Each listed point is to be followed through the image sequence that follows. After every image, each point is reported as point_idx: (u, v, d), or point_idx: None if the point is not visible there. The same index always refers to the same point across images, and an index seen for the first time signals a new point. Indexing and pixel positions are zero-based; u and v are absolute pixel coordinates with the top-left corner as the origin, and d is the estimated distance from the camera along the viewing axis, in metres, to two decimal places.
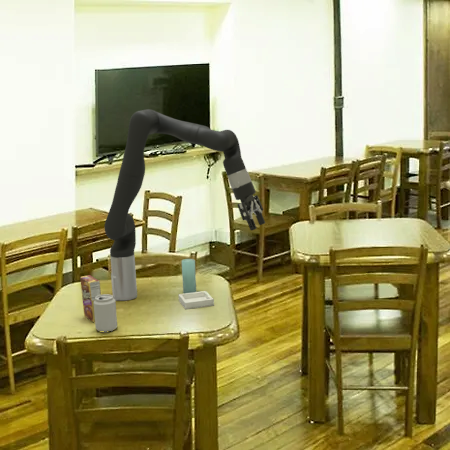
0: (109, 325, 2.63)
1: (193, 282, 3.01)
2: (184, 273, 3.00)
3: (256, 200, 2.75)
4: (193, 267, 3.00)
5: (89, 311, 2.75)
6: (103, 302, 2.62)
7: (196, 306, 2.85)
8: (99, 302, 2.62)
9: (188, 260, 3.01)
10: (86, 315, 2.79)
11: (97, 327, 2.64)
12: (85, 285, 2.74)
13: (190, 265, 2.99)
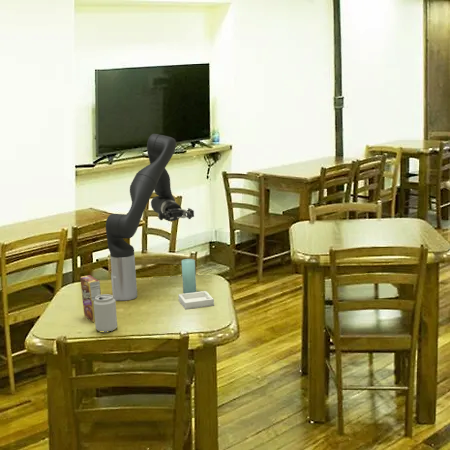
0: (109, 325, 2.63)
1: (193, 282, 3.01)
2: (184, 273, 3.00)
3: None
4: (193, 267, 3.00)
5: (89, 311, 2.75)
6: (103, 302, 2.62)
7: (196, 306, 2.85)
8: (99, 302, 2.62)
9: (188, 260, 3.01)
10: (86, 315, 2.79)
11: (97, 327, 2.64)
12: (85, 285, 2.74)
13: (190, 265, 2.99)
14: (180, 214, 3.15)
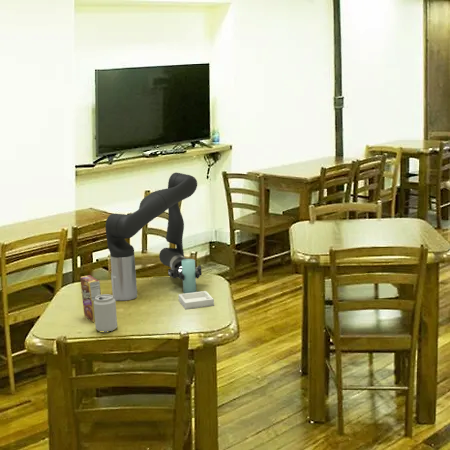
0: (109, 325, 2.63)
1: (193, 282, 3.01)
2: (184, 273, 3.00)
3: None
4: (193, 267, 3.00)
5: (89, 311, 2.75)
6: (103, 302, 2.62)
7: (196, 306, 2.85)
8: (99, 302, 2.62)
9: (188, 260, 3.01)
10: (86, 315, 2.79)
11: (97, 327, 2.64)
12: (85, 285, 2.74)
13: (190, 265, 2.99)
14: None
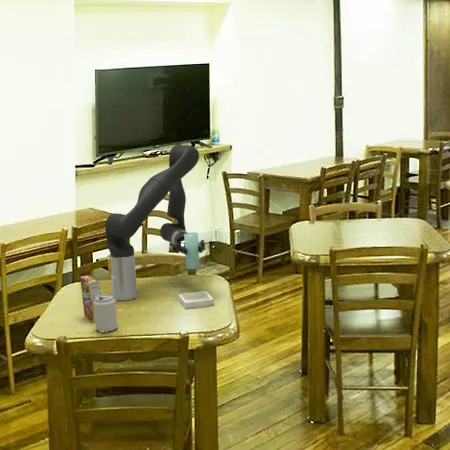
0: (109, 325, 2.63)
1: (196, 256, 2.89)
2: (187, 247, 2.88)
3: None
4: (196, 241, 2.88)
5: (89, 311, 2.75)
6: (103, 302, 2.62)
7: (196, 306, 2.85)
8: (99, 302, 2.62)
9: (191, 234, 2.89)
10: (86, 315, 2.79)
11: (97, 327, 2.64)
12: (85, 285, 2.74)
13: (193, 238, 2.87)
14: None
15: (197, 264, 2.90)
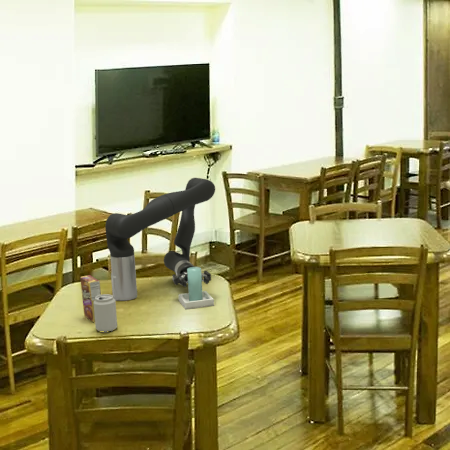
0: (109, 325, 2.63)
1: (199, 291, 2.88)
2: (190, 282, 2.87)
3: None
4: (199, 276, 2.87)
5: (89, 311, 2.75)
6: (103, 302, 2.62)
7: (196, 306, 2.85)
8: (99, 302, 2.62)
9: (194, 268, 2.88)
10: (86, 315, 2.79)
11: (97, 327, 2.64)
12: (85, 285, 2.74)
13: (197, 273, 2.86)
14: None
15: (200, 299, 2.89)
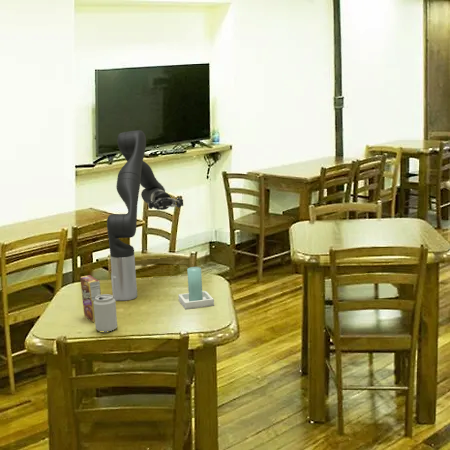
0: (109, 324, 2.63)
1: (199, 291, 2.88)
2: (190, 282, 2.87)
3: None
4: (199, 276, 2.87)
5: (89, 311, 2.75)
6: (103, 302, 2.62)
7: (196, 306, 2.85)
8: (99, 302, 2.62)
9: (194, 268, 2.88)
10: (86, 315, 2.79)
11: (97, 327, 2.64)
12: (85, 285, 2.74)
13: (197, 273, 2.86)
14: (169, 203, 3.18)
15: (200, 299, 2.89)
